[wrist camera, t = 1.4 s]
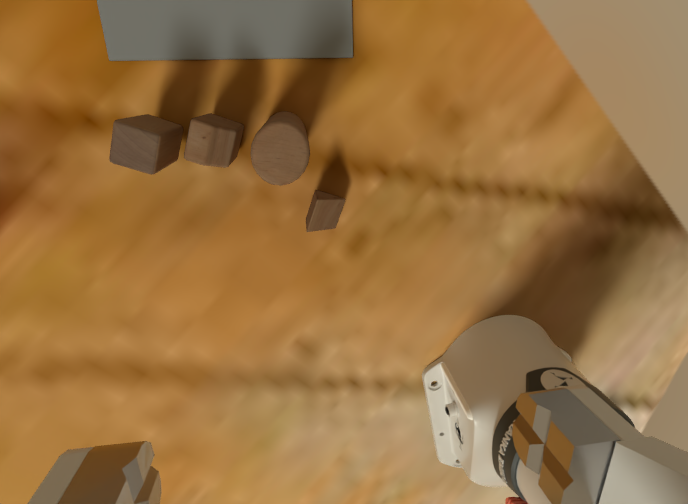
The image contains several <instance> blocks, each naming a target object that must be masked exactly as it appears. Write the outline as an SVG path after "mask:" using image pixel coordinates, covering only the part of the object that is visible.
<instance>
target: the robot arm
mask: <svg viewBox="0 0 688 504" xmlns="http://www.w3.org/2000/svg"><path fill="white" fill-rule="evenodd" d="M422 379H423V384H424V390H425V395H426V401H427V406H428V411H429V417H430V422H431V427H432V433H433V438H434V443H435V449H436V454H437V457H438V459H439V461H440V462H441V463H443V464H446V465H449V466H453V467H460V468H463V470H464V471H465V473H466V475H467V476H468V478H469V479H470V480H472V481H473V482H475V483H477V484H479V485H482V486H487V487H510V488H511V489H512V490H513V491H514V492H515V493H516V494H517V495H518V496H519V497H508V498H506V504H688V452H686V451H683V450H681V449H679V448H677V447H674V446H672V445H670V444H668V443H665V442H663V441H661V440H659V439H657V438H654V437H652V436H651V437H644V436H643V435H642V434H641V433H640V432H639V431H638V430H636V429H635V426H634V424H633V422H632V421H631V419H630V418H629V417H628V416H627V415H626V414H625V413H624V412H623V411H622V410H621V409H620V408H619V407H618V406H617V405H616V404H614V403H613V402H612V401H611V400H610V399H609V398H608V397H606V396H605V395H604V394H603V393H602V392H601V391H600V390H599V389H597V388H596V387H594V386H593V385H592V384H591V383H590V382H589V381H588V380H587V379H586V378H585V377H584V376H583V374H582V373H581V372H580V371H579V370H578V369H577V368H576V367H575V366H574V365H573V364H572V359H571V357H570V355H569V354H568V353H567V352H566V351H564V350H563V349H561V348H559V347H557V346H556V345H555V344H554V342H553V341H552V340H551V339H550V337H549V336H548V334H547V333H546V331H545V330H544V329H543V328H542V327H541V326H540V325H539V324H537V323H536V322H534V321H533V320H531V319H528V318H526V317H522V316H517V315H500V316H495V317H491V318H488V319H485V320H483V321H480V322H478V323H476V324H475V325H473V326H471V327H470V328H468V329H467V330H466V331H464V332H463V333H462V334H461V335H460V336H459V337H458V338H457V339H456V340H455V341H454V342H453V343H452V345H451V346H450V347H449V348H448V350H447V351H446V352H445V353H444V354H443V355H442V357H440V358H439V359H437V360H435V361H434V362H432V363H431V364H430V365H428V366H427V367H426V368H425V369H424V371H423V373H422ZM432 381H437V382H436V383H435V384H433V385H432V384H431V382H432ZM153 457H154V452H153V448H152V445H151V443H150V442H147V441H142V442H133V443H123V444H113V445H104V446H95V447H91V448H80V449H70V450H67V451H66V452H64V453H63V454H62V455H60V457H59V458H58V459H57V461H56V462H55V464H54V465H53V467H52V468H51V470H50V471H49V473H48V474H47V476H46V477H45V479H44V480H43V482H42V483H41V484H40V486H39V487H38V489H37V490H36V492H35V493H34V495H33V496H32V498H31V499H30V501H29V502H28V504H160V498H161V480H160V475H159V471H157V470H156V469H155V468H153V467H152V466H150V465H151V463H152V460H153ZM457 459H458V460H459V461H456V460H457Z"/></svg>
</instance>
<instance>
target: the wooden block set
mask: <svg viewBox="0 0 688 504" xmlns="http://www.w3.org/2000/svg"><path fill="white" fill-rule="evenodd" d="M243 130H244V125H243V124H241V123H238V122H235V121H232V120H229V119H226V118H223V117H220V116H217V115H214V114H212V113H210V114H206V115H202V116H199V117H196V118H192V119H191V121H190V127H189V132H188V137H187V142H186V147H185V153H184V158H185V159H186V160H188V161H191V162H194V163H198V164H201V165H206V166H216V167H228V166H229V165H230V164H231V163H232V162H233V161H234V159H235V158H236V157H237V154H238V150H239V146H240V142H241V138H242V134H243ZM182 134H183V127H182V126H181V125H179V124H176V123H173V122H170V121H167V120H164V119H161V118H158V117H155V116H152V115H149V114H148V115H141V116H135V117H129V118H124V119H118V120H115V122H114V125H113V134H112V142H111V150H110V162H112V163H114V164H117V165H120V166H124V167H127V168H131V169H134V170H137V171H141V172H144V173H148V174H155V173H157V172H159V171H160V170H162V169H163V168H165V167H167V166H168V165H170V164H172V163H173V162H175V161H177V159H178V156H179V150H180V145H181V140H182ZM309 156H310V149H309V142H308V137H307V133H306V129H305V126H304V124H303V122H302V121H301V119H300V118H299V117H298V116H297V115H295V114H293V113H292V112H286V111H283V112H278V113H276V114H274V115H273V116H271V117H270V118H269V120H268V121H267V122H266V123H265V124H264V125H263V126H262V128H261V129H260V130H259V131H258V132H257V134H256V135H255V137H254V140H253V142H252V146H251V159H252V165H253V167H254V169H255V170H256V172H257V174H258V175H259V176H260V177H261V178H262V179H263V180H264V181H266V182H268V183H270V184H273V185H286V184H290V183H292V182H293V181H295V180H297V179H298V178H299V177H300V176H301V175H302V174H303V173H304V171H305V169H306V167H307V165H308V162H309ZM345 200H346V199H344V198H341V197H338V196H335V195H332V194H328V193H325V192H322V191H319V190H315V192H314V195H313V199H312V202H311V205H310V208H309V211H308V214H307V217H306V228H307V232H311V231H319V230H326V229H334V228H336V225H337V222H338V220H339V217H340V214H341V211H342V208H343V206H344V203H345Z"/></svg>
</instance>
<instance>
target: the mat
mask: <svg viewBox="0 0 688 504" xmlns="http://www.w3.org/2000/svg"><path fill="white" fill-rule="evenodd" d="M97 4H98V9H99V13H100V18H101V23H102V28H103V33H104V37H105V42H106V47H107V52H108V56H109V61H136V60H214V59H291V58H353V31H352V0H97Z"/></svg>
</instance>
